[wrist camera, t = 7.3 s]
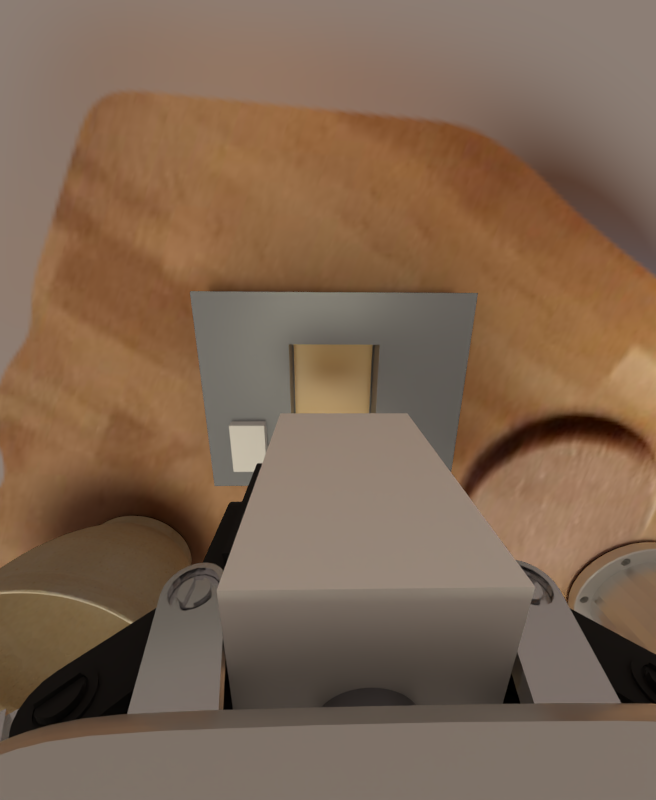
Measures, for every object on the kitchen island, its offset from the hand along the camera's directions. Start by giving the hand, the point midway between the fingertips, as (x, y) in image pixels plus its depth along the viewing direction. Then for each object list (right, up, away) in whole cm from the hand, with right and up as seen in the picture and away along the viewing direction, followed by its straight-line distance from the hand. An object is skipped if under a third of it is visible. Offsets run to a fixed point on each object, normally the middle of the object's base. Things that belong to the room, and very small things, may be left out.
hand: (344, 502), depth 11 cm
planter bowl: (-18, -11, +20) cm, 29 cm away
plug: (0, 0, +1) cm, 1 cm away
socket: (0, +5, +14) cm, 15 cm away
